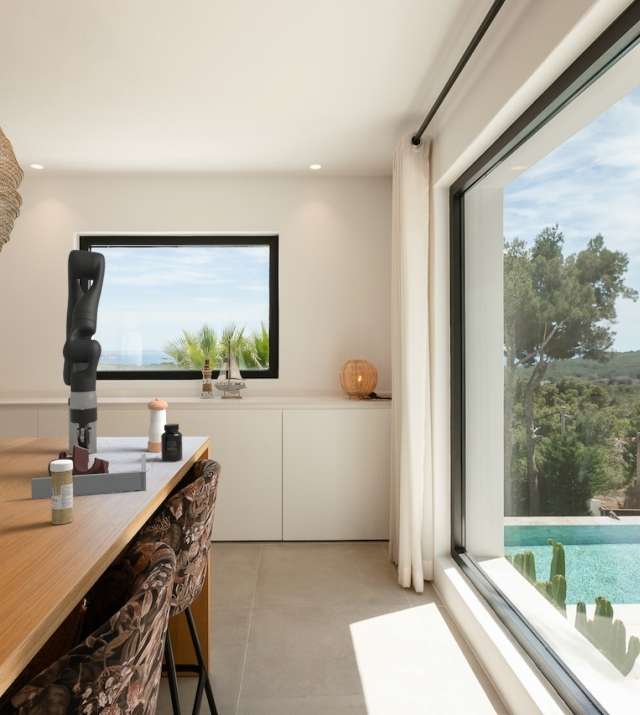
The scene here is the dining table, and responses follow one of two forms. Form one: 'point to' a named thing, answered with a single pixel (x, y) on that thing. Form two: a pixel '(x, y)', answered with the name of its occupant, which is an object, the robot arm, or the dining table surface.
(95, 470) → the bracket
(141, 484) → the angled bar
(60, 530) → the dining table surface
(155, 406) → the pepper shaker
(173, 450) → the supplement bottle
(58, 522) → the sprinkles bottle
